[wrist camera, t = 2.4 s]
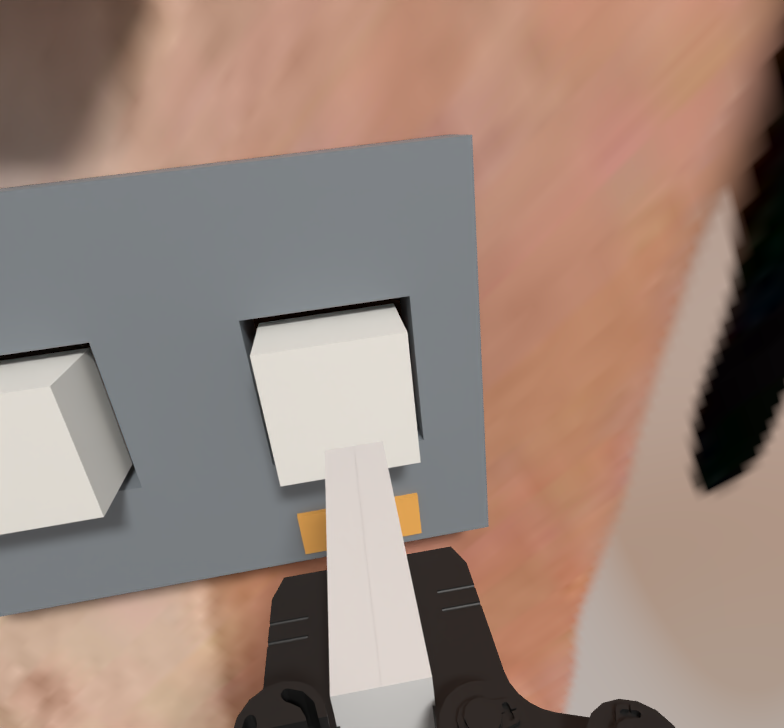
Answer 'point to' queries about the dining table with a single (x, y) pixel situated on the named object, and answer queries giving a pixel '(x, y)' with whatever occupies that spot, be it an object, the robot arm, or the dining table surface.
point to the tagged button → (335, 388)
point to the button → (57, 442)
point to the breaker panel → (239, 348)
